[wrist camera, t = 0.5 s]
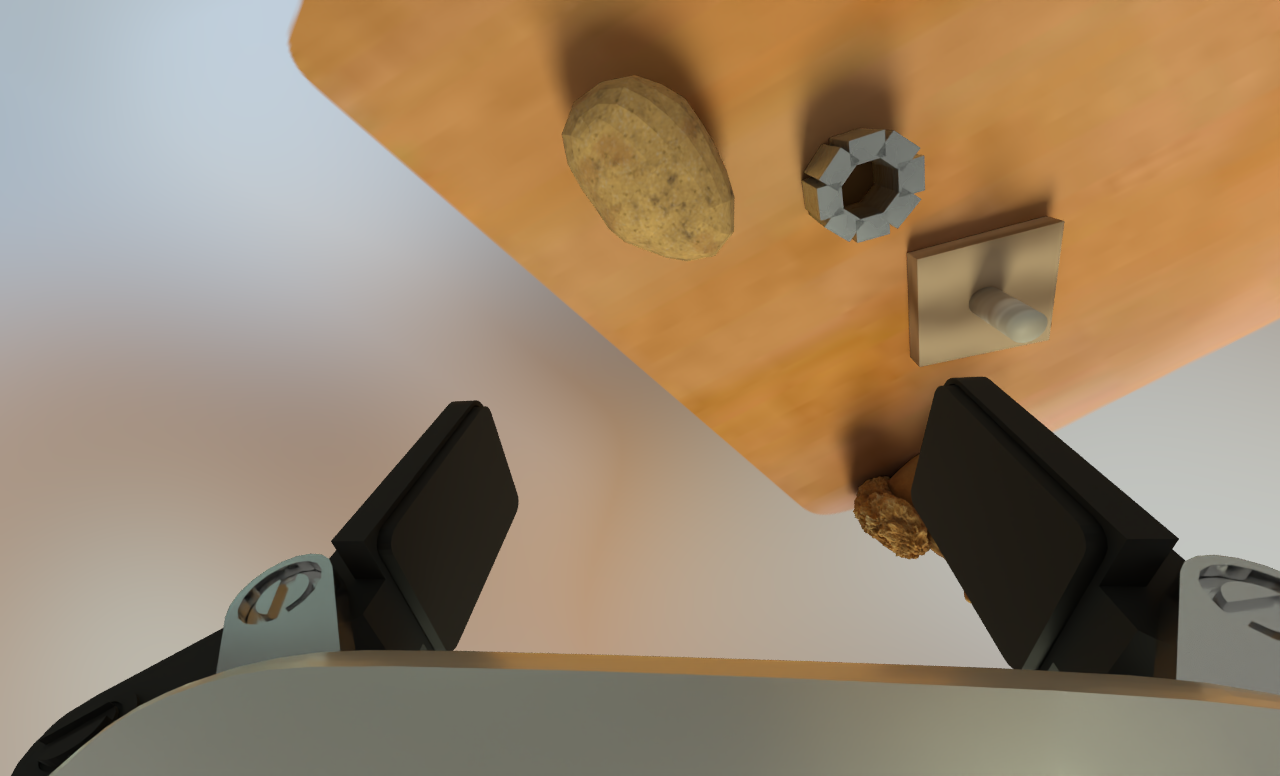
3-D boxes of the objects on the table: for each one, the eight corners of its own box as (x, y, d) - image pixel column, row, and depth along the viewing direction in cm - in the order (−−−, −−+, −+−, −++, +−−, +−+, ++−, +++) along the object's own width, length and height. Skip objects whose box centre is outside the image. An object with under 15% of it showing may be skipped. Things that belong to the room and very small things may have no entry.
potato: (677, 275, 40) (674, 307, 34) (553, 155, 36) (522, 164, 29) (763, 189, 36) (780, 206, 29) (634, 42, 32) (619, 22, 25)
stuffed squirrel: (966, 512, 51) (1044, 623, 40) (835, 517, 53) (874, 624, 42) (986, 442, 46) (1081, 546, 35) (840, 451, 49) (886, 552, 37)
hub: (797, 148, 34) (812, 153, 30) (893, 116, 33) (923, 116, 29) (809, 236, 38) (824, 251, 33) (897, 211, 36) (925, 224, 32)
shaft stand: (906, 253, 38) (951, 280, 31) (1046, 216, 35) (1125, 238, 29) (910, 356, 42) (949, 399, 36) (1033, 330, 40) (1099, 371, 33)
